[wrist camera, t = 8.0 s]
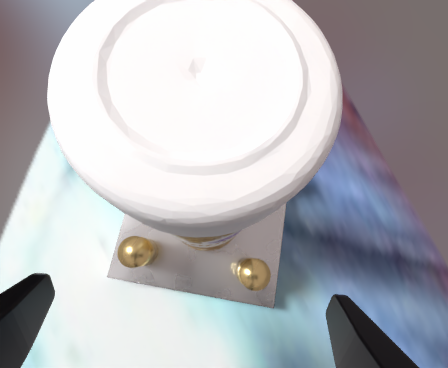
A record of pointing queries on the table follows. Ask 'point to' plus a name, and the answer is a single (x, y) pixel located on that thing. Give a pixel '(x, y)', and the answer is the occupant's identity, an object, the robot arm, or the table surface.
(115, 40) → the sprinkles bottle
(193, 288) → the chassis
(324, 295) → the table surface
